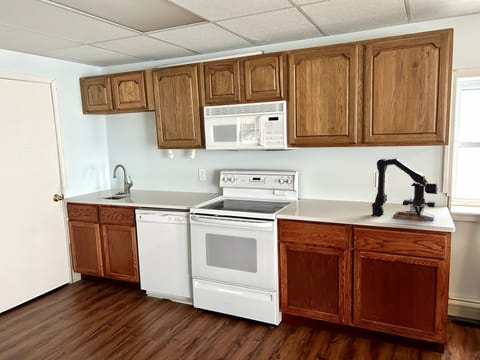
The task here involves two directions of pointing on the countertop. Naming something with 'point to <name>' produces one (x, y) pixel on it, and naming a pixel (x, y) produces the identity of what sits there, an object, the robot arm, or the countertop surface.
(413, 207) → the light bulb box
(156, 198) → the countertop surface
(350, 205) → the countertop surface
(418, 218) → the walnut box
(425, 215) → the cover plate
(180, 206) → the countertop surface
